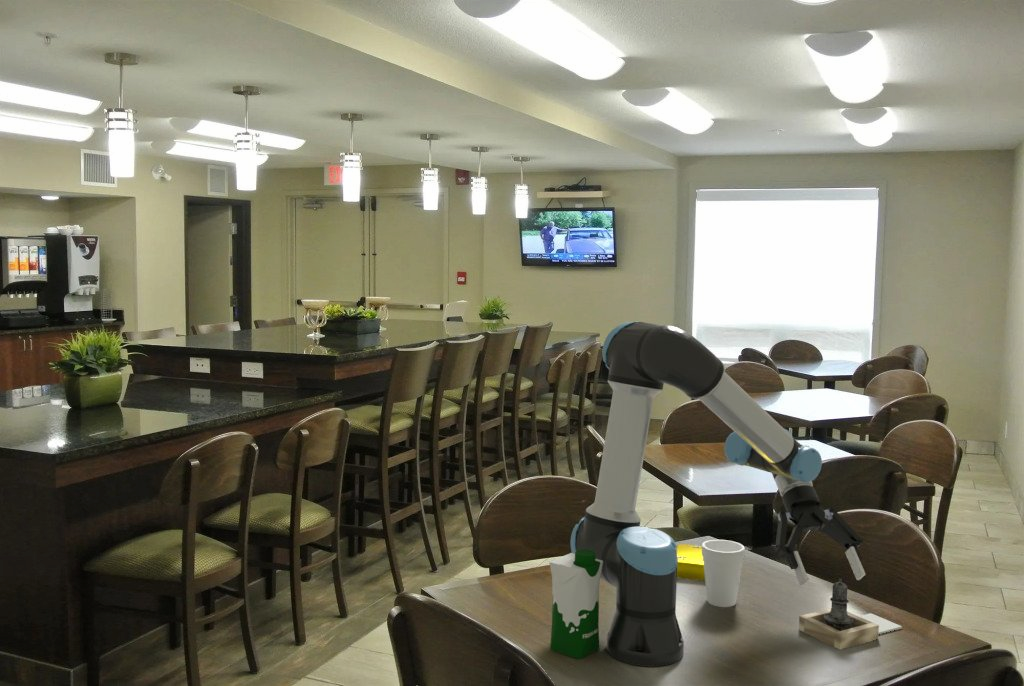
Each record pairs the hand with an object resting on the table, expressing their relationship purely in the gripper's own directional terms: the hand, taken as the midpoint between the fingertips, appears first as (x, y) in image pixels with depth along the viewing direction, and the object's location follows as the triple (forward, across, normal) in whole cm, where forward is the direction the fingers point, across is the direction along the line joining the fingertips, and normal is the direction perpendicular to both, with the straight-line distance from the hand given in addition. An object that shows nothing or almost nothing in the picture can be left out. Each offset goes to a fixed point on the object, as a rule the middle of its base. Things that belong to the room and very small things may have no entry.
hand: (833, 579), depth 192 cm
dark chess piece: (+10, +1, -4) cm, 11 cm away
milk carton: (+7, +57, -8) cm, 58 cm away
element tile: (-19, +11, -34) cm, 41 cm away
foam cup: (-5, +17, -19) cm, 26 cm away
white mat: (+8, -9, -6) cm, 13 cm away
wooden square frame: (+10, +1, -4) cm, 11 cm away
